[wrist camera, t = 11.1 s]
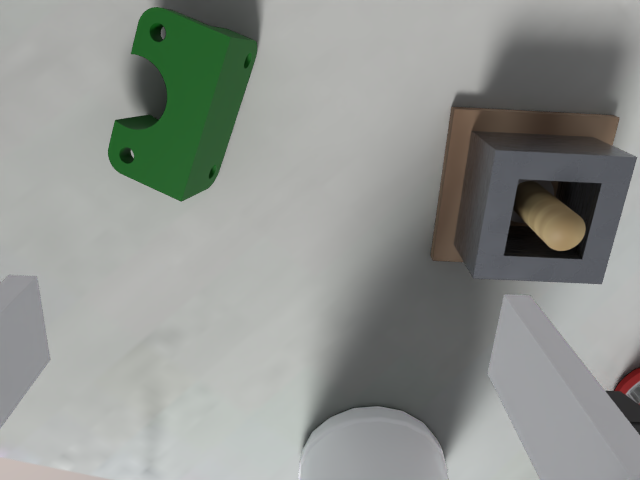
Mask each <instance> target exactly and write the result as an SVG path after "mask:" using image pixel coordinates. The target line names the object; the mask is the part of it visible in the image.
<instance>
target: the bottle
mask: <svg viewBox="0 0 640 480" xmlns="http://www.w3.org/2000/svg"><path fill="white" fill-rule="evenodd" d="M447 473H448V470H447V466H446V462H445V458H444V454H443V450H442V448H441V446H440V444H439V442H438V440H437V439H436V437H435V436H434V435H433V434H432V433H431V431H430V430H429V429H428V428H427V426H426V425H425V424H424V423H423V422H421V421H420V420H418V419H416V418H414V417H413V416H411V415H409V414H407V413H406V412H404V411H401V410H396V409H391V408H386V407H381V406H373V407H361V408H352V409H350V410H347V411H345V412H342V413H340V414H337V415H335V416H332V417H330V418H329V419H327V420H326V421H325V422H324V423H323V424H321V425H320V426H319V427H318V428H316V429H315V430H314V431H313V432H312V434H311V435H310V437H309V439H308V441H307V443H306V444H305V446H304V448H303V450H302V453H301V457H300V462H299V475H298V480H449V478H448V475H447Z"/></svg>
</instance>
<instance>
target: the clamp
mask: <svg viewBox="0 0 640 480" xmlns="http://www.w3.org/2000/svg"><path fill="white" fill-rule="evenodd" d="M163 26H164V28H165V30H166V37H165V39H164V40H163V39H162V37H161V29H162V27H163ZM131 54H135V55H139V56H142V57H144V58H146V59H148V60H149V61H150V62H152V63H153V64H154V65H155V66H156V67H157V68H158V70H159V71H160V73H161V75H162V77H163V79H164V81H165V84H166V89H167V104H166V108H165V111H164V113H163V115H162V117H161V118H160V119H159V120H158V119H156V118H154V117H153V116H151V115H144V116H138V117H131V118H125V119H119V120H115V123H114V127H113V131H112V135H111V139H110V144H109V148H108V156H109V160H110V162H111V164H112V166H113V167H114V169H115V170H116V171H118V172H119V173H121V174H123V175H125V176H127V177H129V178H131V179H134V180H136V181H138V182H140V183H142V184H144V185H147V186H149V187H151V188H153V189H155V190H157V191H160V192H162V193H164V194H166V195H168V196H170V197H173V198H175V199H177V200H179V201H181V202H182V201H184V200H186V199H188V198H190V197H192V196H194V195H196V194H198V193H200V192H202V191H204V190H206V189H208V188H209V187H210V186H211V185H212V184H213V182H214V181H215V179H216V177H217V175H218V173H219V170H220V167H221V164H222V161H223V158H224V155H225V152H226V149H227V146H228V142H229V139H230V136H231V133H232V130H233V127H234V124H235V121H236V118H237V114H238V111H239V108H240V105H241V102H242V99H243V96H244V93H245V90H246V87H247V83H248V80H249V77H250V74H251V71H252V68H253V65H254V62H255V58H256V54H257V43H256V41H254V40H252V39H250V38H247V37H245V36H243V35H240V34H238V33H236V32H233V31H231V30H229V29H225V28H219V27H213V26H209V25H206V24H204V23H202V22H199V21H197V20H195V19H192V18H190V17H188V16H185V15H183V14H180V13H178V12H176V11H173V10H169V9H164V8H159V7H154V8H150V9H148V10H146V11H145V12H144V13H143V14H142V16H141V17H140V19H139V22H138V26H137V31H136V35H135V39H134V43H133V47H132V52H131ZM131 150H132V151H133V153H134V158H133V157H132V155H131V152H130V151H131Z"/></svg>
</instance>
